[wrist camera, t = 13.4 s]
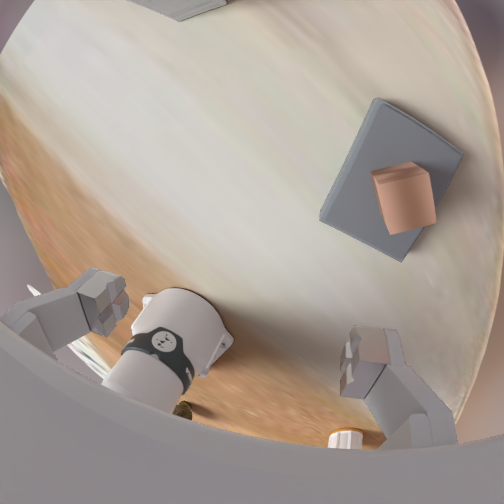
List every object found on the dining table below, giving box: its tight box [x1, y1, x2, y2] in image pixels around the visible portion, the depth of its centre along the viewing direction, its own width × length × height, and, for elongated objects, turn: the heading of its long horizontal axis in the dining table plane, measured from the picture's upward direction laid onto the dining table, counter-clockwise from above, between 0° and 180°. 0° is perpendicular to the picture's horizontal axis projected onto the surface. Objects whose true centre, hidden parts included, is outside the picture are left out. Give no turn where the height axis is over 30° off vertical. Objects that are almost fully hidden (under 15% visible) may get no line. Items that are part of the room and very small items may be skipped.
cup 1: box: [172, 401, 192, 420], centre depth 66 cm, size 8×7×8 cm
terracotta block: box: [370, 161, 437, 235], centre depth 25 cm, size 5×5×6 cm
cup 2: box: [328, 428, 363, 449], centre depth 52 cm, size 11×11×17 cm
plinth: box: [319, 98, 464, 262], centre depth 29 cm, size 16×12×4 cm
